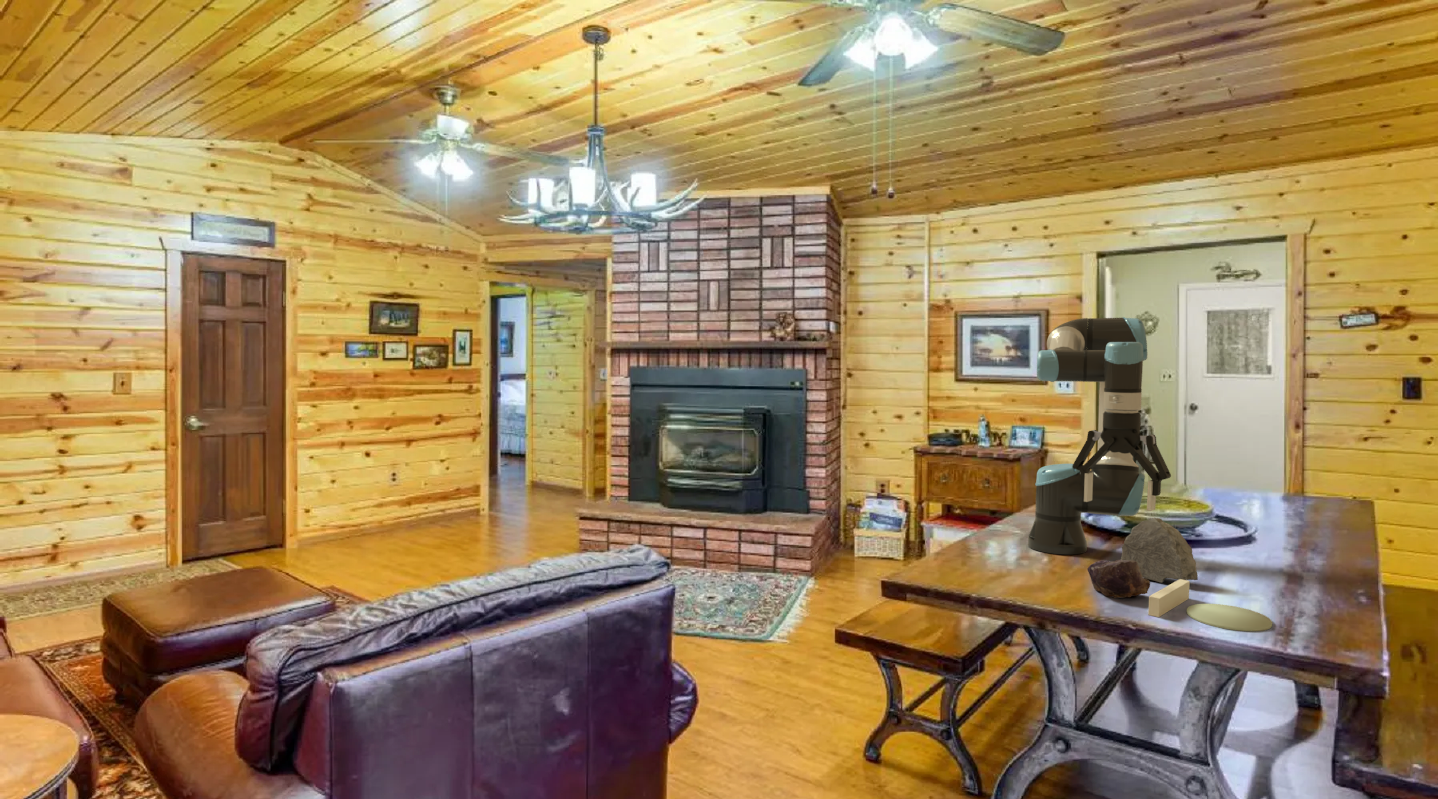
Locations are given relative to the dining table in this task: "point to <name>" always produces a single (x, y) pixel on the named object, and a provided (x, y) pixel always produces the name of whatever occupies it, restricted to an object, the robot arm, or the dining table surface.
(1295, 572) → the dining table surface
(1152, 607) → the rail
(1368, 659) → the dining table surface
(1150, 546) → the decorative rock
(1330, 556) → the dining table surface
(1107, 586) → the rock
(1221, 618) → the felt pad
